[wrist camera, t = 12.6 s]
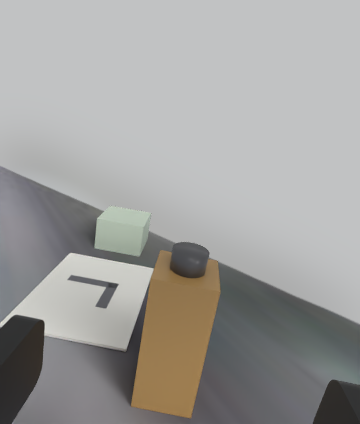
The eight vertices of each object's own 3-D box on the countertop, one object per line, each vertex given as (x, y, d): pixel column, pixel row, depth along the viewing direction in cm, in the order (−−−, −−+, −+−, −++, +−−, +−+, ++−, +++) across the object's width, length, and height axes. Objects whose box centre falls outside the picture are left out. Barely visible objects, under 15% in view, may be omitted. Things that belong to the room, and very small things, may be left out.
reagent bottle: (193, 371, 28) (221, 243, 24) (190, 418, 23) (225, 271, 20) (142, 361, 28) (163, 232, 24) (130, 406, 24) (153, 258, 20)
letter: (153, 270, 44) (153, 268, 44) (125, 351, 29) (126, 348, 29) (70, 254, 44) (70, 252, 44) (-1, 326, 29) (-1, 323, 29)
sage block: (147, 240, 54) (151, 213, 53) (139, 257, 47) (143, 227, 46) (107, 233, 54) (110, 205, 53) (94, 249, 48) (97, 218, 46)
